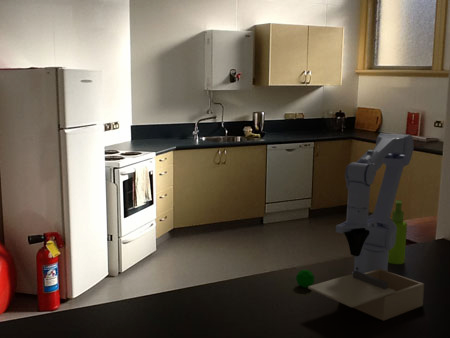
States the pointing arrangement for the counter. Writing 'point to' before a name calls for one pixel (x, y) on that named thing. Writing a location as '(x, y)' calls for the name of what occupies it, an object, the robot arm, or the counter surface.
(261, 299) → the counter surface
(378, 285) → the carton lid
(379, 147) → the robot arm
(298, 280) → the green ball
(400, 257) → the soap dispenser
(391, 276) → the carton
